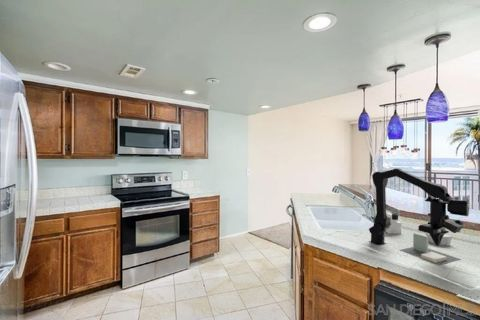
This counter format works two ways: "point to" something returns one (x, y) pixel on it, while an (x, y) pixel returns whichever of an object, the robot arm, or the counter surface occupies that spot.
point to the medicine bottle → (394, 224)
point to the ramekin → (444, 241)
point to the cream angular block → (433, 257)
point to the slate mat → (418, 253)
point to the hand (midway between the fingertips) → (437, 245)
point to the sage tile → (420, 242)
